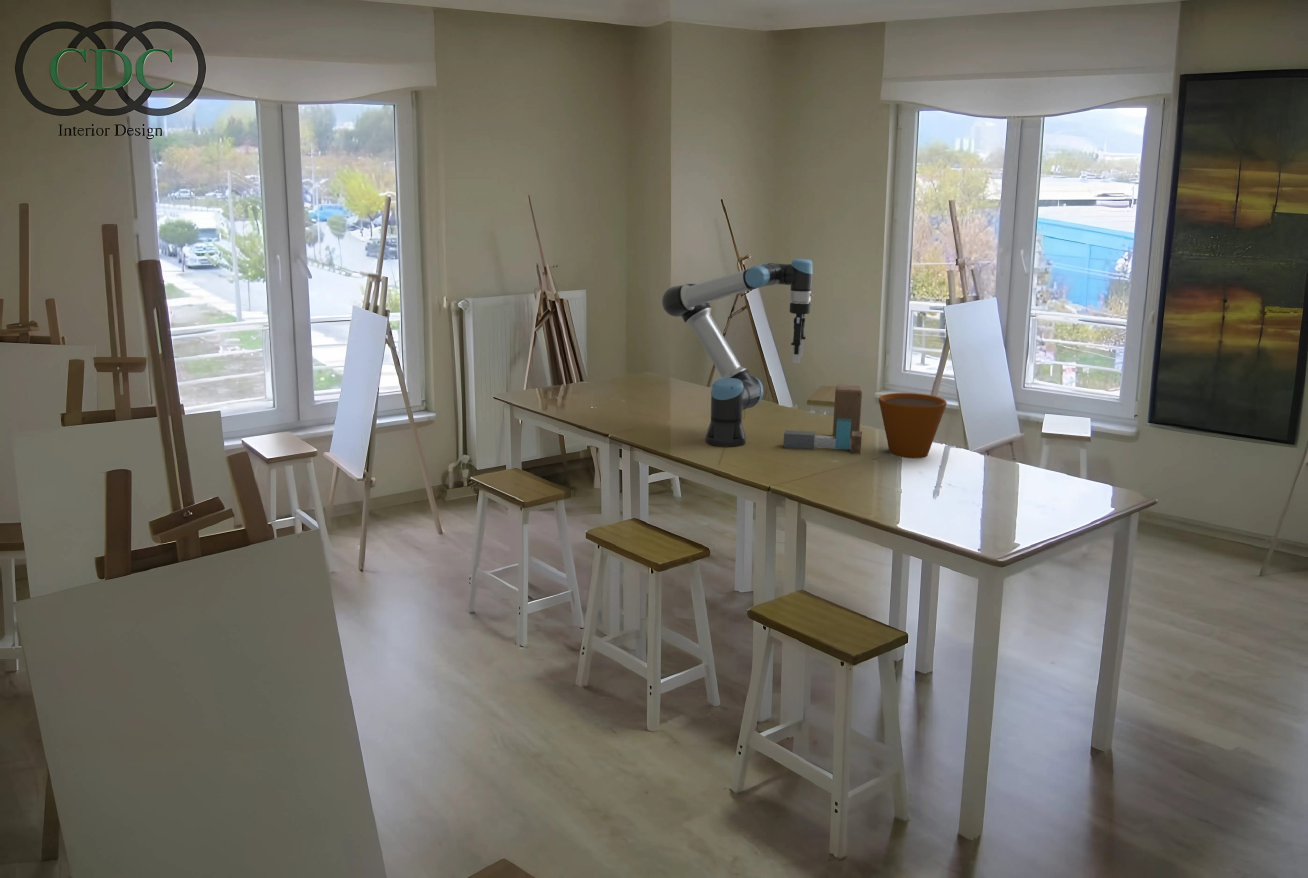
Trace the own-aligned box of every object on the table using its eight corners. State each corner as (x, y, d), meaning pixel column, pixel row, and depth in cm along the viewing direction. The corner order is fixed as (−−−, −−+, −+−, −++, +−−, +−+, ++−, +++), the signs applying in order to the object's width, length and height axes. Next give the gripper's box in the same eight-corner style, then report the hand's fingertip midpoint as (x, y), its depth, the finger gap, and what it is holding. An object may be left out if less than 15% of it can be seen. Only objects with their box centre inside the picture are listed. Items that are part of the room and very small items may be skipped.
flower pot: (953, 460, 373) (958, 405, 368) (889, 462, 369) (893, 407, 364) (925, 444, 396) (930, 392, 391) (865, 445, 392) (869, 393, 387)
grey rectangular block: (783, 447, 387) (784, 433, 385) (784, 444, 392) (785, 430, 391) (813, 449, 384) (814, 435, 383) (814, 446, 390) (815, 431, 388)
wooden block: (858, 442, 397) (862, 390, 392) (832, 440, 399) (835, 388, 394) (859, 435, 407) (862, 385, 402) (833, 434, 409) (836, 384, 404)
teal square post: (806, 446, 385) (807, 418, 383) (807, 443, 390) (808, 416, 387) (858, 450, 381) (860, 422, 379) (859, 447, 386) (861, 419, 383)
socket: (850, 453, 381) (851, 435, 379) (851, 447, 388) (852, 430, 387) (860, 454, 380) (861, 436, 378) (860, 448, 387) (862, 431, 386)
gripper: (808, 306, 368) (805, 366, 373) (813, 299, 392) (810, 355, 397) (786, 305, 369) (784, 365, 375) (792, 298, 393) (790, 354, 398)
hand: (797, 360), depth 386 cm, fingers open, 13 cm apart
